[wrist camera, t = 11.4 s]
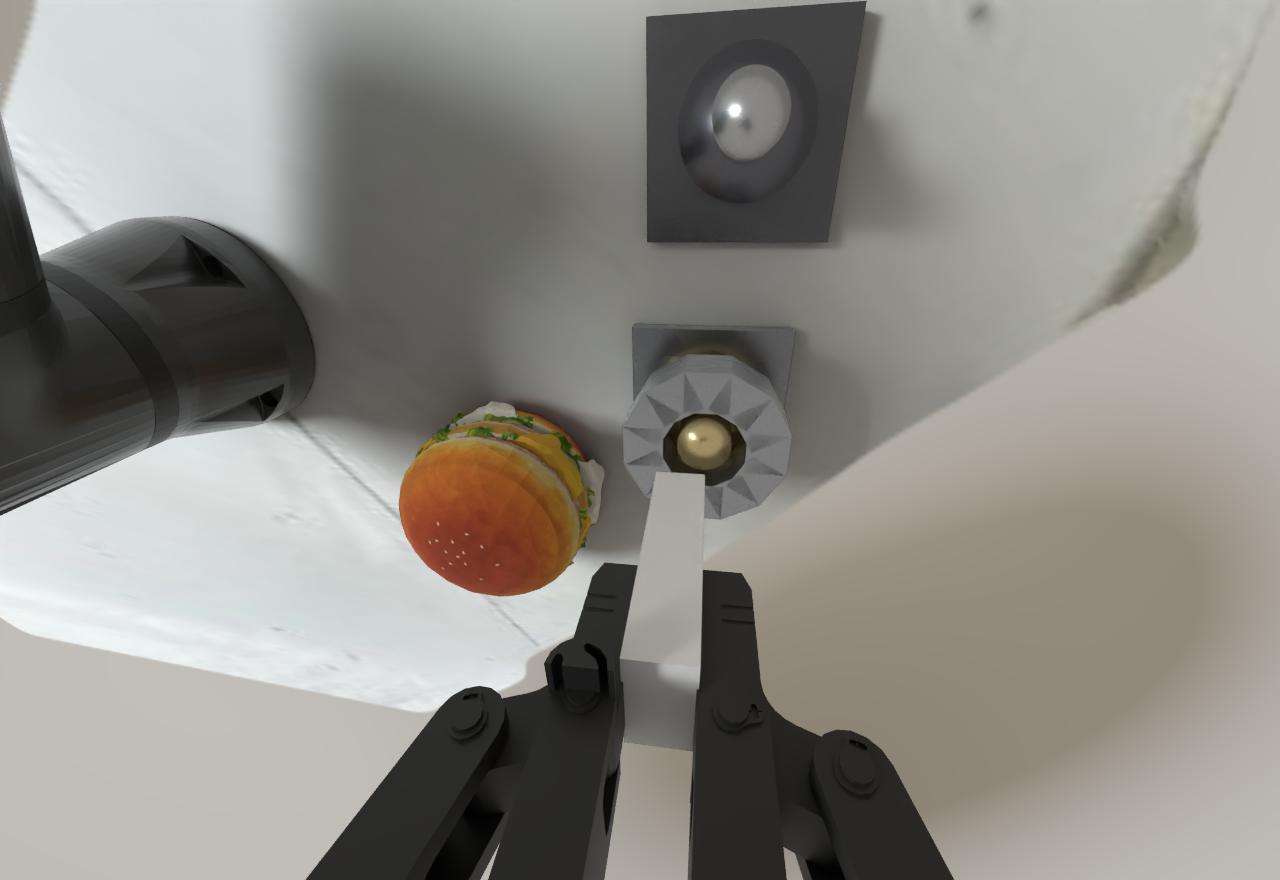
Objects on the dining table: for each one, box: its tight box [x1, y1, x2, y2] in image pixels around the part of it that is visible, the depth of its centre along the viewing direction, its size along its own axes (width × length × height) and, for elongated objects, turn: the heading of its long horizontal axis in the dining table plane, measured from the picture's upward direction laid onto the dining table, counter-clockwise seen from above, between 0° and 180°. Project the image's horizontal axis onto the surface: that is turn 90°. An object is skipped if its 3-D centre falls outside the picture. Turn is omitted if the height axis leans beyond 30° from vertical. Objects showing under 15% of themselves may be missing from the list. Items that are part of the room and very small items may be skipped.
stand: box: [646, 1, 866, 242], centre depth 21 cm, size 10×10×9 cm
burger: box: [399, 401, 605, 596], centre depth 33 cm, size 14×14×10 cm
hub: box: [632, 324, 795, 470], centre depth 29 cm, size 10×10×7 cm
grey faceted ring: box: [622, 354, 792, 519], centre depth 27 cm, size 9×9×3 cm
